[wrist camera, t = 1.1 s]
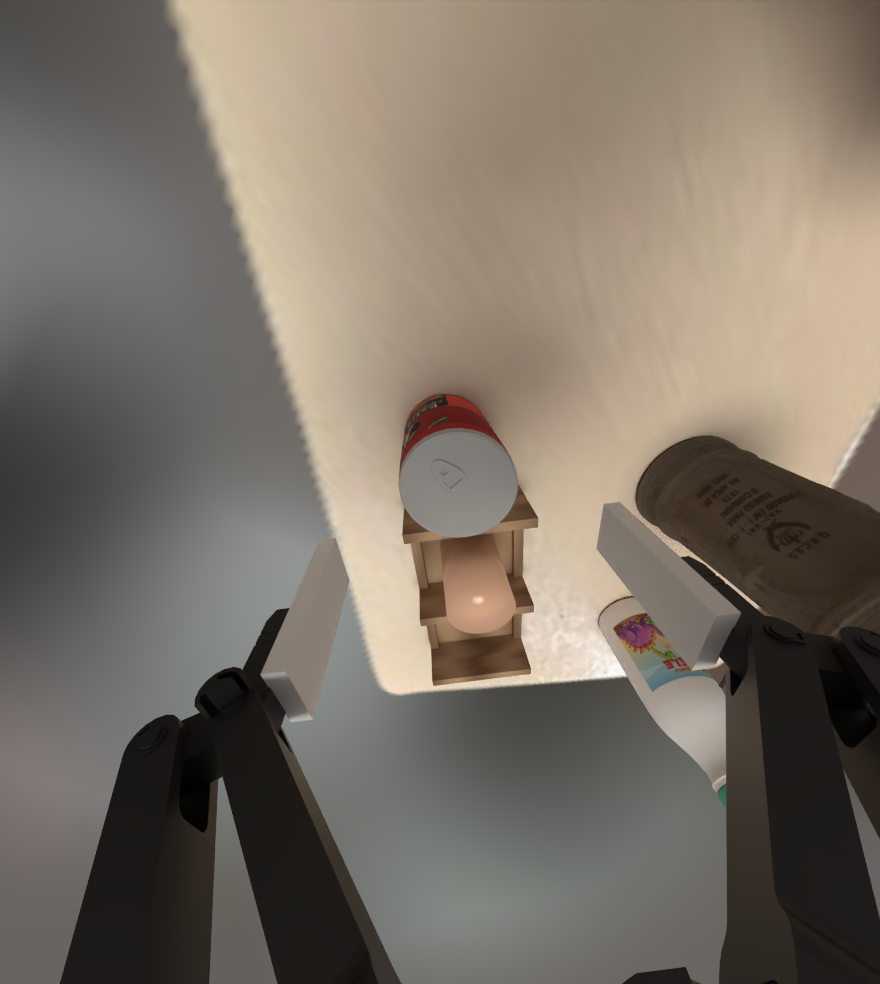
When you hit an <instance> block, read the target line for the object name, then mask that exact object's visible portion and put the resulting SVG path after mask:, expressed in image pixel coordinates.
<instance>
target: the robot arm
mask: <svg viewBox="0 0 880 984" xmlns="http://www.w3.org/2000/svg"><path fill="white" fill-rule="evenodd" d="M597 550H598V551H599V552H600V554H601V555H602V556H603V557H604V559H605V560H606V561H607V563H608V564H609V565H610V566H611V568H612V569H613V570H614V572H615V573H616V574H617V575H618V577H619V578H620V579H621V581H622V582H623V583H624V584H625V586H626V587H627V588H628V590H629V591H630V592H631V593H632V595H633V596H634V597H635V599H636V600H637V601H638V602H639V604H640V605H641V606H642V608H643V609H644V610H645V611H646V613H647V614H648V615H649V617H650V618H651V619H652V620H653V622H654V623H655V624H656V626H657V627H658V628H659V629H660V631H661V632H662V633H663V634H664V636H665V637H666V638H667V640H668V641H669V642H670V643H671V645H672V646H673V647H674V649H675V650H676V651H677V652H678V654H679V655H680V656H681V658H682V659H683V660H684V661H685V663H686V664H687V665H688V667H689V668H690V669H691V670H692V671H694V670H701V669H709V668H714V666H715V664H716V663H717V661H718V659H719V657H720V658H721V659H722V660H723V661H724V662H725V663H726V664H727V666H728V667H727V669H726V671H725V673H724V675H723V677H722V679H721V681H720V683H719V687H721V688H723V686H724V684H725V685H726V686H725V687H726V688H725V689H726V814H727V815H726V822H727V824H726V825H727V930H726V936H725V940H724V943H723V947H722V951H721V958H720V970H719V984H880V918H879V914H878V910H877V906H876V902H875V898H874V894H873V890H872V885H871V881H870V877H869V873H868V869H867V865H866V862H865V857H864V853H863V849H862V845H861V841H860V837H859V833H858V829H857V824H856V821H855V816H854V812H853V808H852V804H851V800H850V796H849V792H848V788H847V784H846V780H845V776H844V772H843V769H844V771H845V773H846V775H847V777H848V779H849V781H850V783H851V785H852V787H853V788H854V790H855V792H856V794H857V796H858V798H859V800H860V802H861V804H862V805H863V808H864V810H865V812H866V813H867V815H868V817H869V819H870V821H871V823H872V825H873V827H874V829H875V831H876V833H877V835H878V836H879V838H880V634H878V633H876V632H874V631H871V630H868V629H864V628H860V627H851V626H847V627H844V628H841V629H840V630H839V632H838V633H837V634H836V636H835V637H833V636H826V635H819V634H811V633H804V632H803V631H802V630H800V629H799V628H797V627H796V626H794V625H793V624H791V623H789V622H787V621H784V620H782V619H779V618H775V617H771V616H764V615H763V614H761V613H760V612H759V611H758V610H757V609H756V608H755V607H753V606H752V605H751V604H750V603H749V602H748V601H746V600H745V599H744V598H743V597H742V596H741V595H739V594H738V593H737V592H736V591H735V590H734V589H732V588H731V587H730V586H729V585H728V584H725V582H724V581H723V580H722V579H721V578H720V577H718V576H716V574H715V573H714V572H713V571H711V570H710V569H709V568H708V567H707V566H706V565H704V564H703V563H701V562H699V561H697V560H695V559H693V558H691V557H690V556H687V557H679V556H678V555H677V554H676V553H675V552H674V551H673V550H672V549H671V548H669V547H668V546H667V545H666V544H665V543H664V542H663V541H662V540H661V539H660V538H658V537H657V536H656V535H655V534H654V533H653V532H652V531H651V530H650V529H649V528H647V527H646V526H645V525H644V524H643V523H642V522H641V521H640V520H639V519H638V518H636V517H635V516H634V515H633V514H632V513H631V512H630V511H629V510H628V509H627V508H625V507H624V506H623V505H622V504H621V503H620V502H616V503H608V504H604V506H603V512H602V518H601V525H600V531H599V537H598V543H597ZM348 583H349V578H348V575H347V572H346V569H345V566H344V563H343V560H342V557H341V554H340V551H339V548H338V545H337V542H336V539H327V540H320V541H319V543H318V545H317V547H316V550H315V552H314V554H313V556H312V559H311V561H310V563H309V565H308V568H307V570H306V572H305V575H304V577H303V579H302V582H301V584H300V586H299V589H298V590H297V593H296V595H295V597H294V599H293V602H292V604H291V606H290V608H287V609H279V610H276V611H275V613H274V614H273V615H272V616H271V617H270V618H269V619H268V620H267V622H266V623H265V626H264V628H263V630H262V632H261V635H260V636H259V638H258V640H257V642H256V646H254V648H253V650H252V652H251V654H250V656H249V658H248V660H247V662H246V664H245V666H244V668H243V670H241V668H236V667H232V668H227V669H224V670H222V671H220V672H218V673H216V674H215V675H213V676H212V677H211V678H210V679H208V680H207V681H206V682H205V683H204V685H203V686H202V687H201V688H200V689H199V691H198V693H197V696H196V698H195V707H196V708H197V710H198V711H199V712H200V713H198V714H196V715H194V716H191V717H189V718H187V719H184V720H182V721H180V720H179V719H178V718H177V717H176V716H174V715H164V716H162V717H159V718H156V719H155V720H153V721H152V722H150V723H148V724H147V725H145V726H144V727H143V728H142V729H141V730H140V731H139V732H138V733H137V734H136V735H135V736H134V737H133V738H132V740H131V741H130V742H129V744H128V745H127V747H126V749H125V752H124V754H123V757H122V761H121V764H120V768H119V771H118V775H117V779H116V783H115V786H114V790H113V793H112V797H111V800H110V804H109V808H108V812H107V815H106V819H105V822H104V826H103V829H102V833H101V837H100V840H99V844H98V847H97V851H96V855H95V859H94V862H93V866H92V869H91V873H90V876H89V880H88V884H87V888H86V891H85V895H84V898H83V902H82V906H81V909H80V913H79V916H78V920H77V924H76V927H75V931H74V934H73V938H72V942H71V945H70V949H69V952H68V956H67V960H66V963H65V967H64V971H63V975H62V979H61V981H60V984H209V974H210V973H209V972H210V952H211V929H212V906H213V883H214V882H213V881H214V860H215V838H216V813H217V792H218V779H219V778H221V777H223V780H224V784H225V788H226V791H227V795H228V798H229V803H230V806H231V810H232V814H233V817H234V821H235V825H236V829H237V833H238V837H239V840H240V844H241V848H242V851H243V855H244V859H245V863H246V867H247V870H248V874H249V878H250V882H251V886H252V889H253V893H254V896H255V901H256V904H257V908H258V912H259V916H260V919H261V923H262V927H263V931H264V935H265V938H266V942H267V946H268V950H269V953H270V956H271V961H272V965H273V969H274V972H275V976H276V980H277V983H278V984H401V982H400V980H399V978H398V976H397V975H396V972H395V971H394V968H393V967H392V964H391V962H390V960H389V958H388V956H387V953H386V951H385V949H384V947H383V945H382V943H381V941H380V938H379V936H378V934H377V932H376V930H375V927H374V925H373V923H372V921H371V919H370V917H369V914H368V912H367V910H366V908H365V906H364V904H363V901H362V899H361V897H360V895H359V893H358V891H357V889H356V886H355V884H354V882H353V880H352V878H351V875H350V874H349V871H348V869H347V867H346V865H345V863H344V860H343V858H342V856H341V854H340V852H339V850H338V847H337V845H336V843H335V841H334V839H333V836H332V834H331V832H330V830H329V828H328V826H327V823H326V821H325V819H324V817H323V815H322V813H321V810H320V809H319V806H318V804H317V802H316V800H315V797H314V795H313V793H312V791H311V789H310V787H309V784H308V782H307V780H306V778H305V776H304V774H303V772H302V769H301V767H300V765H299V763H298V761H297V758H296V756H295V754H294V752H293V750H292V748H291V745H290V744H289V741H288V739H287V737H286V735H285V733H284V730H283V729H282V727H281V725H282V722H283V719H284V716H285V714H286V715H287V717H288V718H289V720H290V721H291V722H297V721H305V720H313V718H314V714H315V710H316V706H317V703H318V699H319V695H320V691H321V687H322V683H323V680H324V675H325V672H326V668H327V664H328V660H329V656H330V652H331V649H332V644H333V641H334V637H335V633H336V629H337V625H338V622H339V618H340V614H341V610H342V606H343V603H344V599H345V595H346V591H347V587H348ZM842 767H843V768H842ZM623 984H700V983H698V982H696V981H694V980H692V979H690V977H689V974H688V972H687V969H686V968H685V967H682V968H674V969H666V970H659V971H651V972H644V973H636V974H635V975H633V976H632V977H631V978H629V979H628V980H626V981H625V982H624V983H623Z"/></svg>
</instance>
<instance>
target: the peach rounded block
mask: <svg viewBox="0 0 880 984" xmlns="http://www.w3.org/2000/svg"><path fill="white" fill-rule="evenodd" d="M440 550H441V561H442V572H443V582H444V593H445V603H446V614H447V618H448V620H449V622H450V623H451V624H452V625H453V626H454V627H455V628H457V629H458V630H460V631H463V632H466V633H473V634H480V633H487V632H491V631H494V630H497V629H499V628H501V627H502V626H504V625H505V624H506V623H508V622H509V621H510V619H511V618H512V617H513V615H514V613H515V610H516V602H515V599H514V596H513V593H512V590H511V587H510V584H509V581H508V578H507V575H506V573H505V570H504V567H503V564H502V561H501V558H500V555H499V552H498V549H497V546H496V543H495V540H494V537H493V535H492V533H488V534H480V535H474V536H469V537H459V538H448V539H441V542H440Z"/></svg>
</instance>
